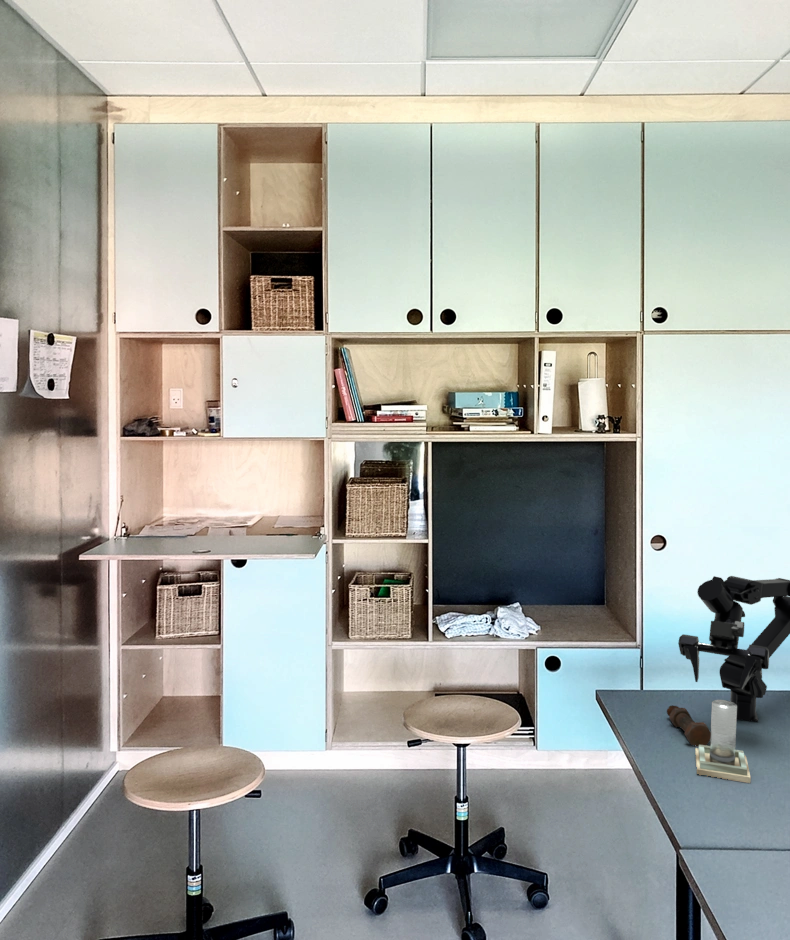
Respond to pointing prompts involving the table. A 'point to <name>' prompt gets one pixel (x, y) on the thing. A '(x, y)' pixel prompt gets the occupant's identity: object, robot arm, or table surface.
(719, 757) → the grey cylindrical piece
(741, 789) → the table surface
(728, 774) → the tray
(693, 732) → the bolt
